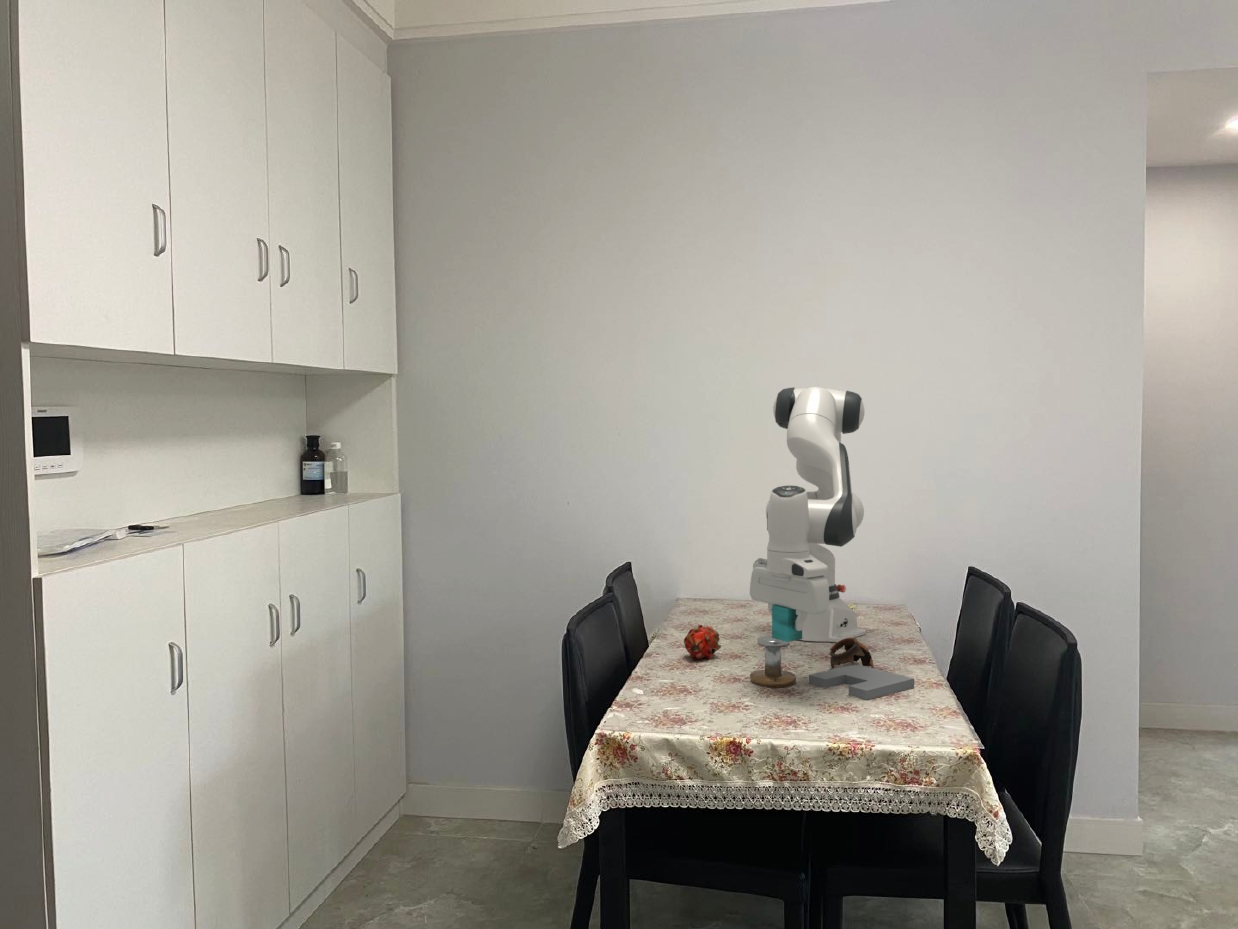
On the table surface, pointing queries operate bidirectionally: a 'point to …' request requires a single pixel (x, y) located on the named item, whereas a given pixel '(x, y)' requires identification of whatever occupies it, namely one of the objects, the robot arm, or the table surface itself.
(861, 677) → the notched board
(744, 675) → the table surface
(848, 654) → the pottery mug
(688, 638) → the dragon fruit
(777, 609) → the block
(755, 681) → the bobbin post
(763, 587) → the robot arm
